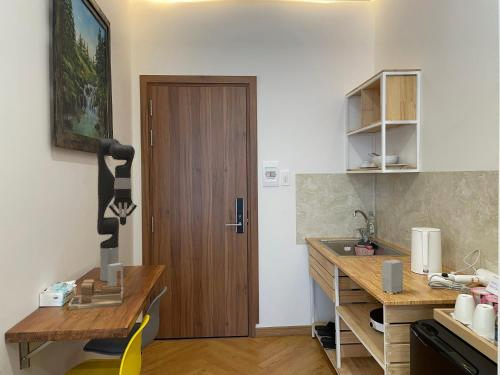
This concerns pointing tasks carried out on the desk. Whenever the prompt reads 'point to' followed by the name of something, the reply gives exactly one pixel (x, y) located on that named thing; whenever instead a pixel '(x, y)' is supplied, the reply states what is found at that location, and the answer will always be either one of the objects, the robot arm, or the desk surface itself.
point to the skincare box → (114, 273)
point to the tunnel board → (94, 298)
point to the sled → (113, 286)
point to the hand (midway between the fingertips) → (123, 225)
